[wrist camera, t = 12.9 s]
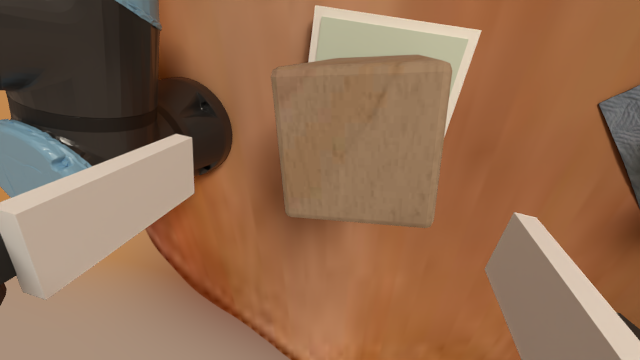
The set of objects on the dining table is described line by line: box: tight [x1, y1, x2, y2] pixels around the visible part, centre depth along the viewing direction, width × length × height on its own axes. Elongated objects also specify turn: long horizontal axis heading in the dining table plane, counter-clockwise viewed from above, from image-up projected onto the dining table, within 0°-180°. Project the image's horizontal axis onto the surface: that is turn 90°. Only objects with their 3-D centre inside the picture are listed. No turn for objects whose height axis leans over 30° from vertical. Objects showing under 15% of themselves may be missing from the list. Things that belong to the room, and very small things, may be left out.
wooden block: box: [271, 55, 452, 228], centre depth 27 cm, size 10×10×20 cm
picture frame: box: [308, 5, 481, 137], centre depth 37 cm, size 18×18×4 cm
